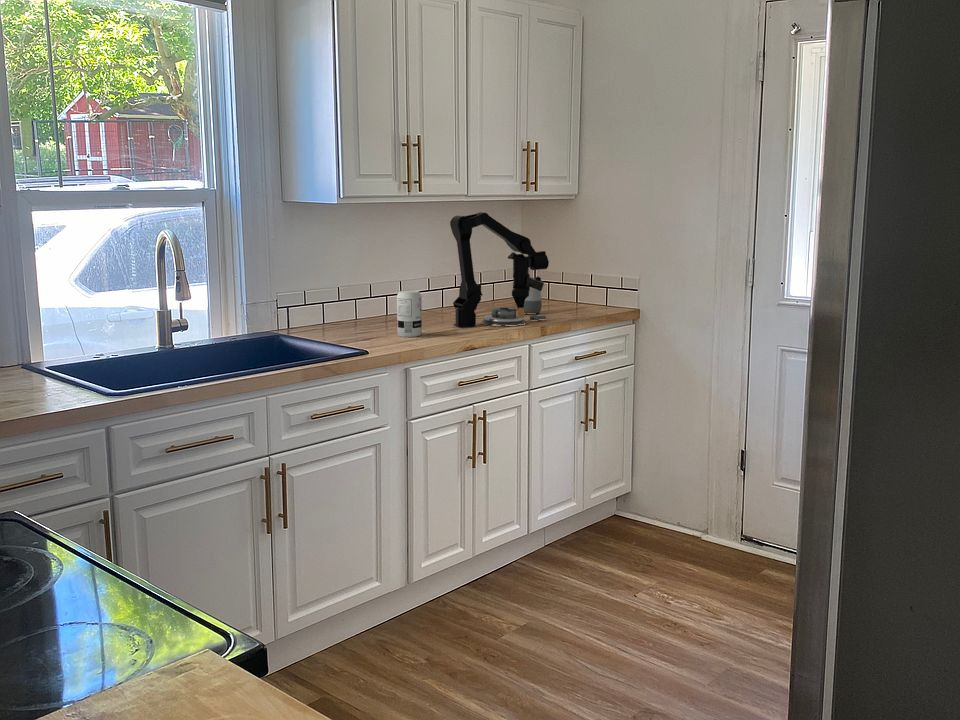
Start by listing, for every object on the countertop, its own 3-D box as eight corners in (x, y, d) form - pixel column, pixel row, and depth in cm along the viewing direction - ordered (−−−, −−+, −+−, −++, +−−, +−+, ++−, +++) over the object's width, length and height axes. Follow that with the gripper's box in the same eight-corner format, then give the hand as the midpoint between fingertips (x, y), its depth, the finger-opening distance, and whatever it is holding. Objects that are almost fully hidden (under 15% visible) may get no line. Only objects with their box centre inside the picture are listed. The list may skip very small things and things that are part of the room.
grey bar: (534, 321, 357) (534, 316, 357) (529, 321, 359) (529, 315, 359) (545, 320, 361) (545, 315, 361) (541, 319, 363) (541, 314, 362)
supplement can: (394, 334, 325) (394, 290, 323) (417, 333, 328) (417, 289, 325) (401, 338, 318) (400, 293, 315) (424, 336, 321) (424, 292, 318)
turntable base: (491, 327, 342) (491, 324, 342) (476, 321, 357) (476, 318, 356) (532, 325, 347) (532, 322, 347) (515, 319, 362) (515, 317, 362)
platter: (483, 322, 344) (483, 309, 344) (483, 317, 359) (483, 304, 358) (525, 323, 344) (525, 310, 343) (523, 317, 359) (523, 305, 358)
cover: (491, 318, 347) (491, 309, 346) (491, 315, 356) (492, 306, 355) (516, 318, 347) (516, 309, 346) (516, 315, 355) (516, 306, 355)
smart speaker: (519, 311, 384) (520, 277, 382) (542, 312, 383) (543, 277, 381) (516, 315, 375) (517, 279, 373) (540, 315, 374) (540, 280, 371)
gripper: (542, 273, 341) (542, 316, 344) (542, 268, 359) (542, 309, 362) (511, 273, 342) (511, 316, 345) (513, 268, 360) (513, 309, 363)
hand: (521, 312), depth 354 cm, fingers closed
